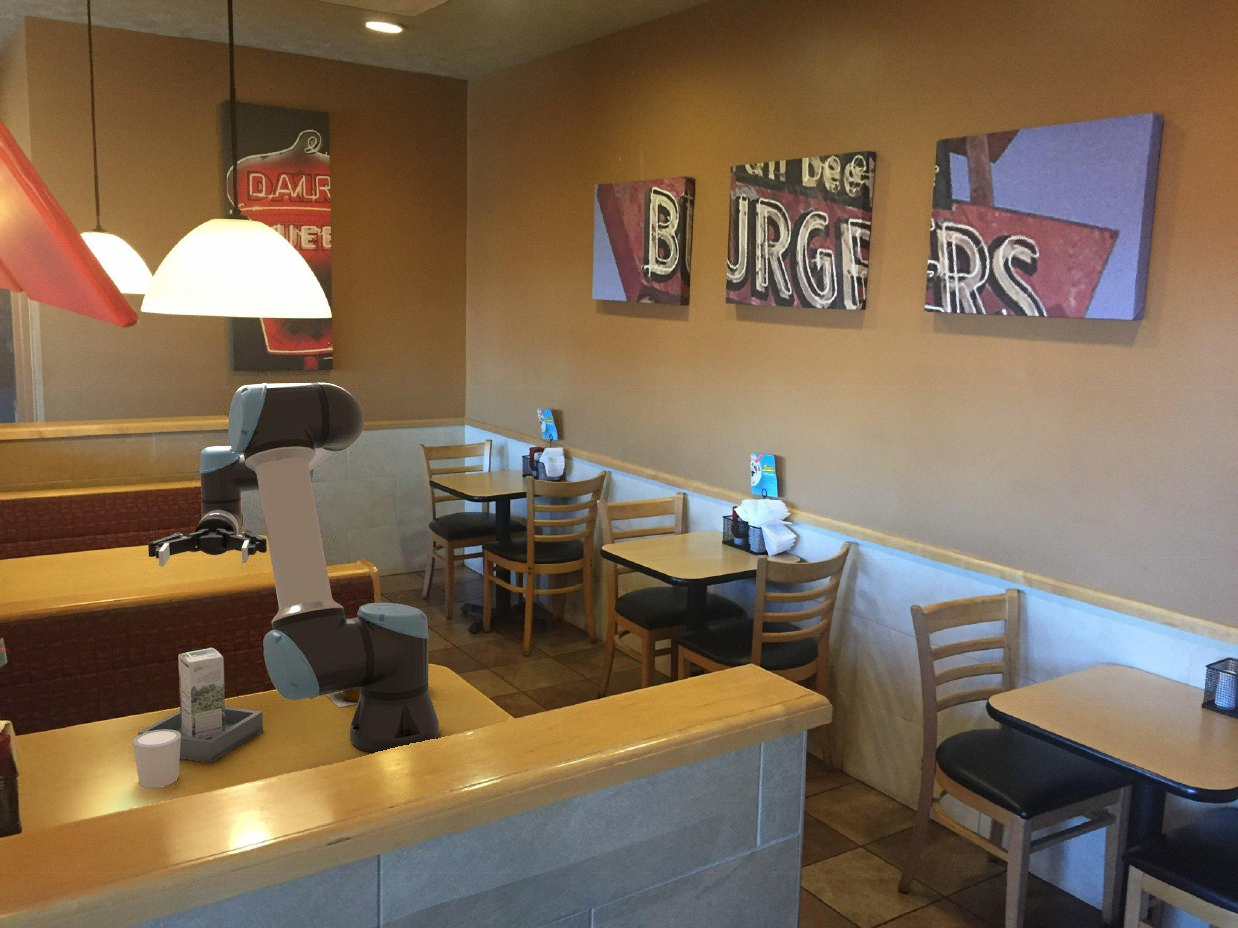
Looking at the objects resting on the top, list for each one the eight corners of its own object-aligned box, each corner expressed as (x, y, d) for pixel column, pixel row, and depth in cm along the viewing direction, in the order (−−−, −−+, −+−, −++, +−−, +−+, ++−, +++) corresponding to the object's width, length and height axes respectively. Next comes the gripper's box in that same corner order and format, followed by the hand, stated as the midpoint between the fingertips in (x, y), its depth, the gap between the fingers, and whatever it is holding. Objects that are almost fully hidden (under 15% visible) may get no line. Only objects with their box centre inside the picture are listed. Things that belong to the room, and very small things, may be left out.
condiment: (382, 699, 193) (381, 639, 192) (338, 708, 189) (337, 646, 187) (369, 688, 199) (368, 629, 198) (326, 695, 195) (325, 635, 193)
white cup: (162, 792, 154) (160, 748, 153) (124, 785, 156) (122, 742, 155) (192, 773, 161) (190, 731, 160) (156, 767, 163) (154, 726, 162)
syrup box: (214, 725, 177) (211, 645, 175) (226, 736, 173) (223, 654, 171) (180, 733, 173) (177, 652, 171) (192, 744, 169) (188, 661, 167)
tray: (263, 730, 178) (262, 711, 177) (211, 763, 164) (210, 742, 164) (195, 720, 181) (194, 702, 181) (139, 752, 168) (138, 731, 168)
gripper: (283, 548, 202) (278, 574, 182) (148, 554, 195) (126, 581, 175) (282, 511, 201) (277, 533, 181) (146, 515, 194) (124, 538, 174)
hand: (203, 557), depth 178 cm, fingers open, 13 cm apart
